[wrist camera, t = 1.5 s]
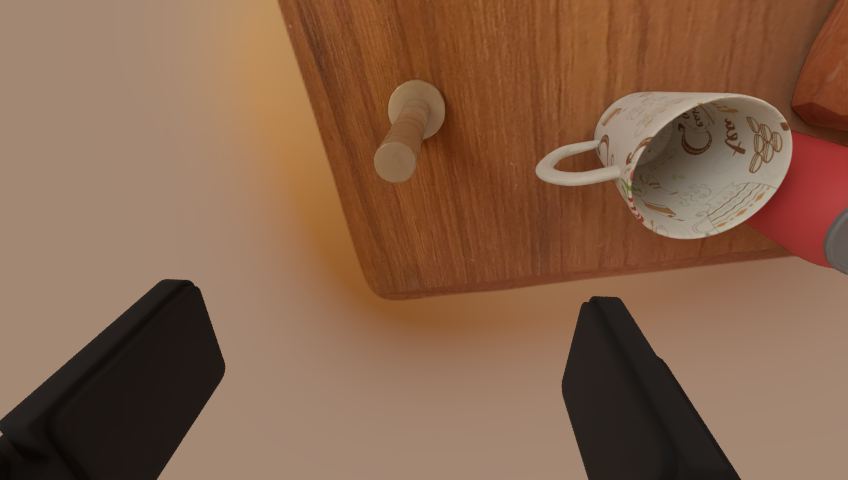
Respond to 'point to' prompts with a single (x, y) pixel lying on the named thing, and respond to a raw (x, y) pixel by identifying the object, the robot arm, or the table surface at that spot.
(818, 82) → the bread
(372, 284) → the table surface
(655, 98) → the mug
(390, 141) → the wooden peg with base
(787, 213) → the beer can
